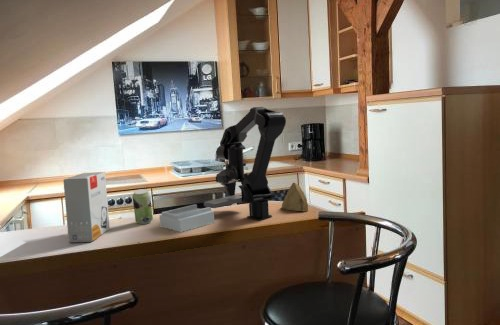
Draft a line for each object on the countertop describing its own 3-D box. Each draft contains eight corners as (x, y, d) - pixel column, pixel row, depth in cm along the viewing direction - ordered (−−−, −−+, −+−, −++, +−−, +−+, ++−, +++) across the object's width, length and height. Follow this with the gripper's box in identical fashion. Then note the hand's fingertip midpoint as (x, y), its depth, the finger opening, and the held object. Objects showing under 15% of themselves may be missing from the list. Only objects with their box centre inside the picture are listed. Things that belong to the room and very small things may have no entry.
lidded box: (214, 222, 143) (213, 208, 143) (180, 232, 134) (179, 216, 133) (193, 217, 152) (192, 203, 151) (160, 226, 142) (159, 211, 142)
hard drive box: (92, 242, 128) (86, 178, 125) (68, 243, 128) (61, 179, 125) (110, 228, 143) (105, 171, 141) (88, 229, 143) (82, 172, 141)
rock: (316, 205, 152) (307, 196, 161) (302, 188, 149) (294, 180, 159) (293, 224, 152) (286, 214, 162) (279, 207, 150) (273, 198, 159)
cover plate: (247, 200, 158) (247, 196, 158) (214, 208, 147) (214, 204, 147) (236, 198, 162) (236, 194, 162) (204, 206, 151) (203, 202, 151)
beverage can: (152, 219, 152) (150, 187, 151) (153, 224, 145) (150, 190, 144) (135, 221, 151) (132, 188, 149) (134, 226, 144) (131, 192, 142)
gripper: (203, 162, 158) (206, 202, 160) (237, 165, 145) (239, 209, 147) (225, 159, 166) (227, 197, 168) (259, 161, 152) (261, 203, 154)
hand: (238, 201), depth 159 cm, fingers closed on cover plate, 6 cm apart
